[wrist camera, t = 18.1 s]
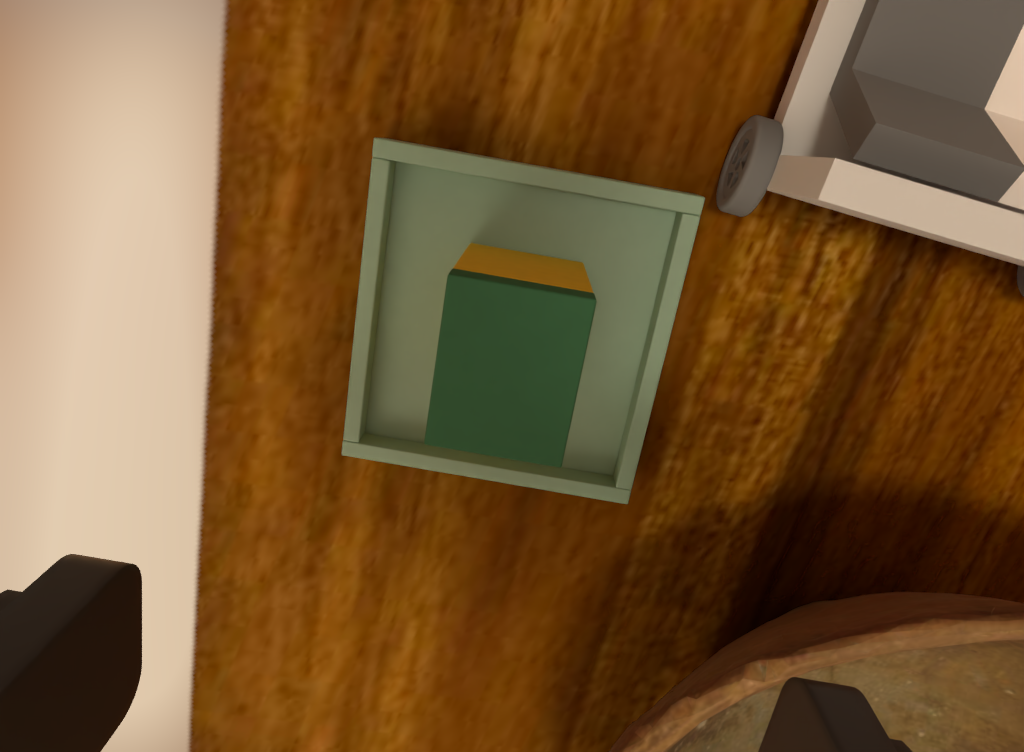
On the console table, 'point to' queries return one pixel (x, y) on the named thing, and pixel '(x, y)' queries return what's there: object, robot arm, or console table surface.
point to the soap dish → (526, 228)
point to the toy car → (899, 123)
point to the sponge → (510, 355)
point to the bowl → (860, 675)
